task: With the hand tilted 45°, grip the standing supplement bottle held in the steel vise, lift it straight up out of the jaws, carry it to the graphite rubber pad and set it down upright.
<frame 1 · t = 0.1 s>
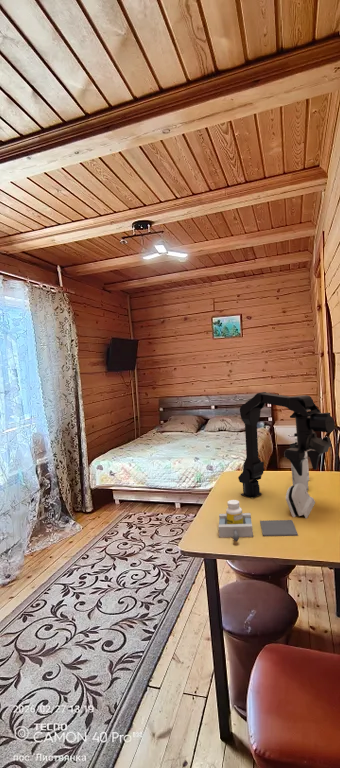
hand: (307, 472, 137), 15 cm above the table, tool pointing down, fingers open, 9 cm apart
supplement bottle: (235, 530, 129), resting in vise
bath foam: (301, 480, 174), on the table
vise: (235, 529, 129), on the table
pad: (278, 528, 127), on the table
travel mug: (300, 489, 162), on the table
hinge: (300, 509, 141), on the table
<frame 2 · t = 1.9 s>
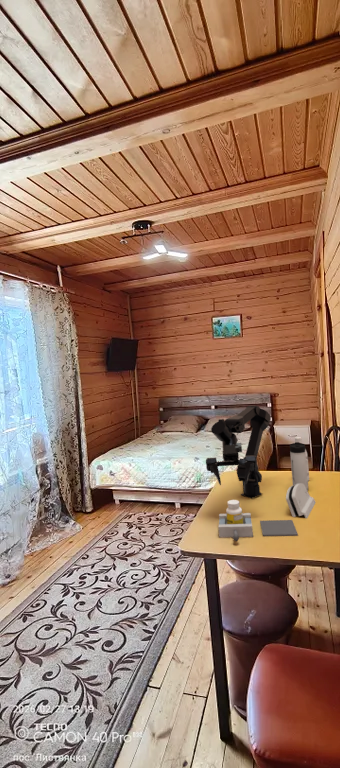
hand: (233, 484, 136), 13 cm above the table, tool tilted 45°, fingers open, 9 cm apart
nothing on the table moved.
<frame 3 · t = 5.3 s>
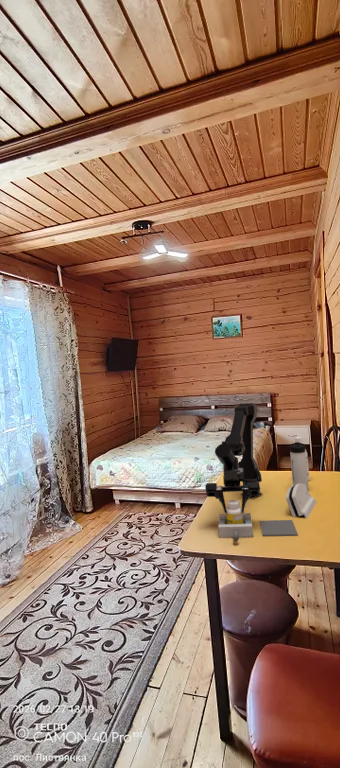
hand: (234, 512, 127), 7 cm above the table, tool tilted 45°, fingers closed on supplement bottle, 5 cm apart
supplement bottle: (235, 530, 129), resting in vise, touching gripper
everything else where it was.
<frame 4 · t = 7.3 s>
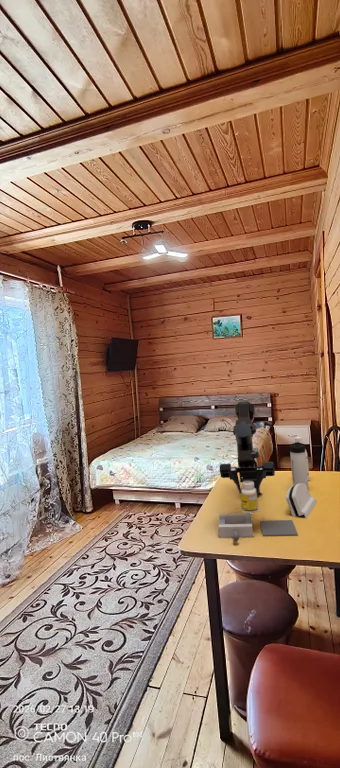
hand: (248, 492, 126), 13 cm above the table, tool tilted 45°, fingers closed on supplement bottle, 5 cm apart
supplement bottle: (250, 510, 128), point 6 cm above the table, touching gripper
everything else where it was.
when the fingers open (8 cm above the table, at t = 9.5 s): supplement bottle drops 1 cm, resting on pad.
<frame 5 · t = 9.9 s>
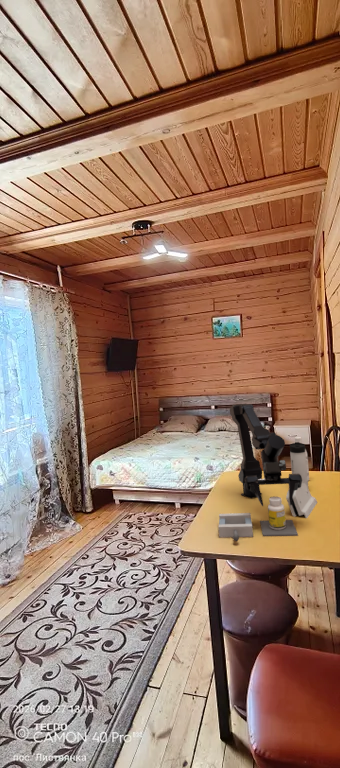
hand: (276, 505, 125), 9 cm above the table, tool tilted 45°, fingers open, 9 cm apart
supplement bottle: (277, 527, 127), resting on pad
everything else where it was.
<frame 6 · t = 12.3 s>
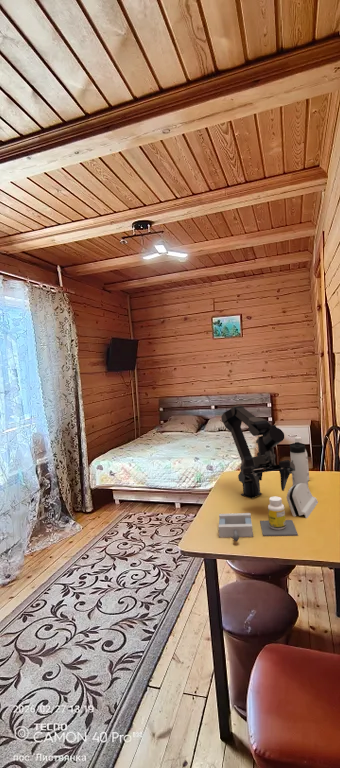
hand: (270, 492, 136), 9 cm above the table, tool tilted 30°, fingers open, 9 cm apart
nothing on the table moved.
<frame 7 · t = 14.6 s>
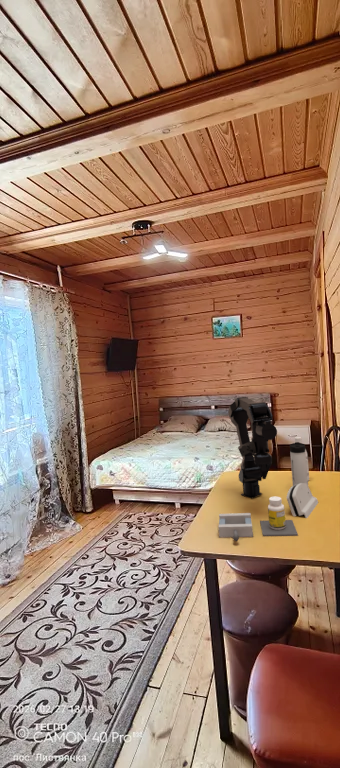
hand: (262, 475, 144), 13 cm above the table, tool pointing down, fingers open, 9 cm apart
nothing on the table moved.
at the end: supplement bottle inside the target area on the pad (0.2 cm from its centre), point 0.3 cm above the pad's base; supplement bottle tilted 0°; supplement bottle touching pad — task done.
